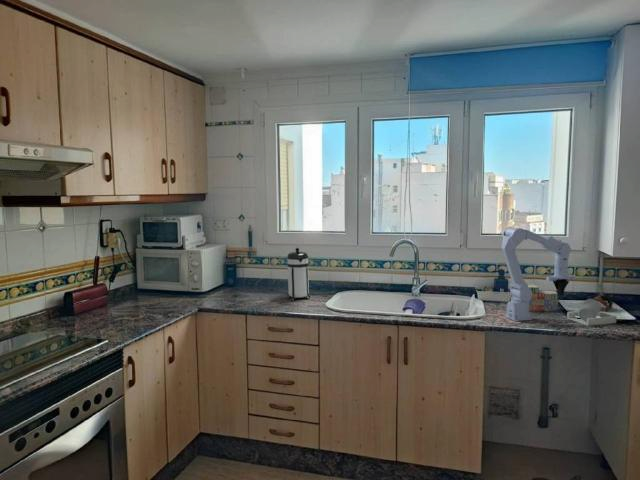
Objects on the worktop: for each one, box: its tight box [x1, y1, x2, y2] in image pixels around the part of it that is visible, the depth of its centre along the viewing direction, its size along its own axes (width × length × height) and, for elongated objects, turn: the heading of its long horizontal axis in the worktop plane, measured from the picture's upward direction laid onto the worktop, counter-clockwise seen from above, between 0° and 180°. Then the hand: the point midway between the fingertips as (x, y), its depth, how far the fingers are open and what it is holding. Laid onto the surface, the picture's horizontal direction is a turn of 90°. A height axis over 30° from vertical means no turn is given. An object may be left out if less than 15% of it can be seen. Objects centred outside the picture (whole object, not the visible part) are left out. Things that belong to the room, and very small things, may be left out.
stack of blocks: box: [510, 284, 559, 312], centre depth 241 cm, size 21×6×12 cm, turn 76°
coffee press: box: [286, 247, 311, 299], centre depth 278 cm, size 17×16×30 cm
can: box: [577, 298, 602, 321], centre depth 219 cm, size 8×8×12 cm
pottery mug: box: [589, 294, 614, 311], centre depth 237 cm, size 12×9×8 cm
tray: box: [566, 310, 617, 327], centre depth 219 cm, size 15×13×3 cm
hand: (560, 294), depth 227 cm, fingers closed
